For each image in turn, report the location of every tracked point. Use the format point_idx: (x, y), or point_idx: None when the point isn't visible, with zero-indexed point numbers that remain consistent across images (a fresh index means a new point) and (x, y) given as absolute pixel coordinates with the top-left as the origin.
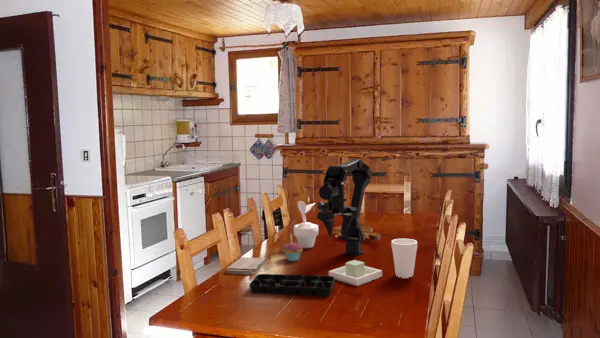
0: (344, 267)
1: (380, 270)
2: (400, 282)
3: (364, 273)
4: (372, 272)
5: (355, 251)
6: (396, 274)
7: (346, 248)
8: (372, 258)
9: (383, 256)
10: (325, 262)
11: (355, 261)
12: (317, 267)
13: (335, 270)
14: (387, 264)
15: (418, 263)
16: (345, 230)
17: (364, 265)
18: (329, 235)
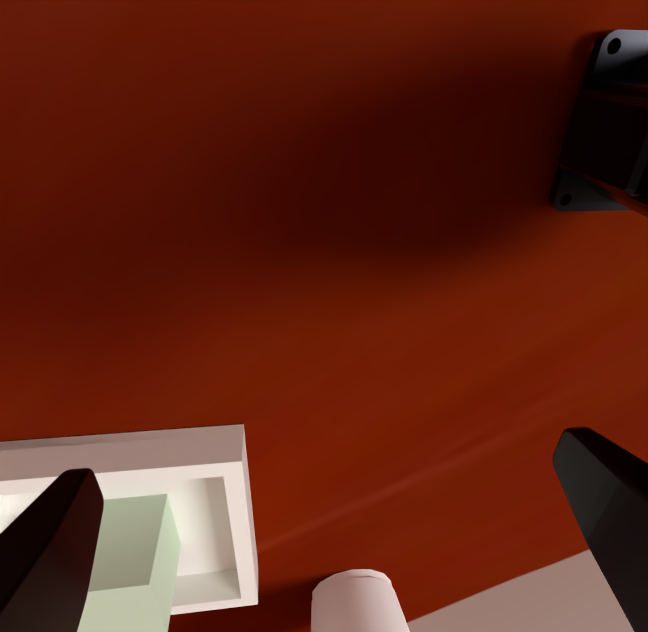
0: (112, 483)
1: (251, 602)
2: (259, 624)
3: (178, 556)
4: (188, 605)
5: (613, 200)
6: (316, 595)
7: (611, 118)
8: (555, 344)
9: (637, 360)
10: (192, 133)
11: (129, 605)
12: (6, 204)
13: (2, 492)
14: (471, 471)
15: (567, 531)
16: (572, 474)
17: (170, 610)
18: (69, 483)
